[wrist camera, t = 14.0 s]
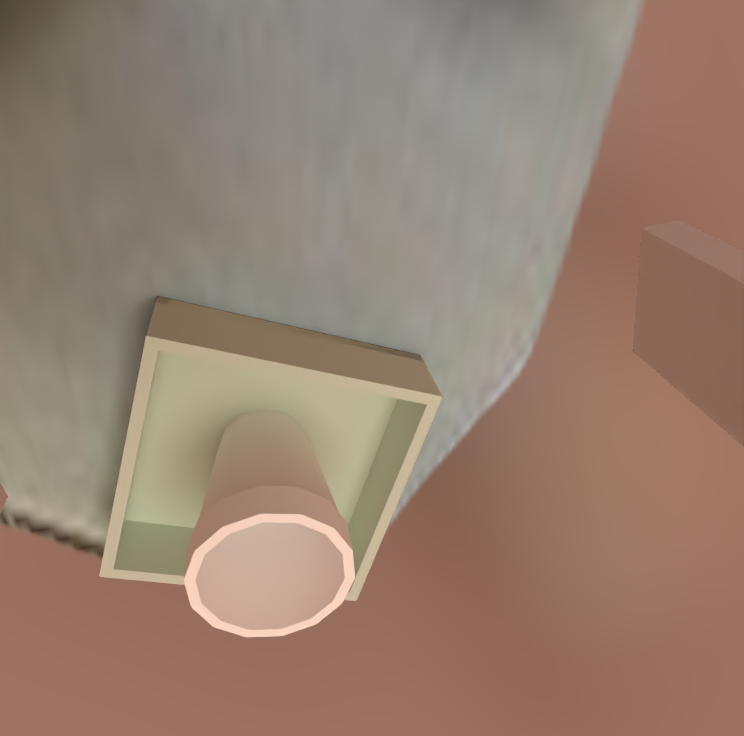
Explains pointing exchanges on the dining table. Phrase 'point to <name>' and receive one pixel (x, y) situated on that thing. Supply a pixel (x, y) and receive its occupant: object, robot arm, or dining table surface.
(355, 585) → the bin
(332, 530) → the foam cup
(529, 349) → the dining table surface
